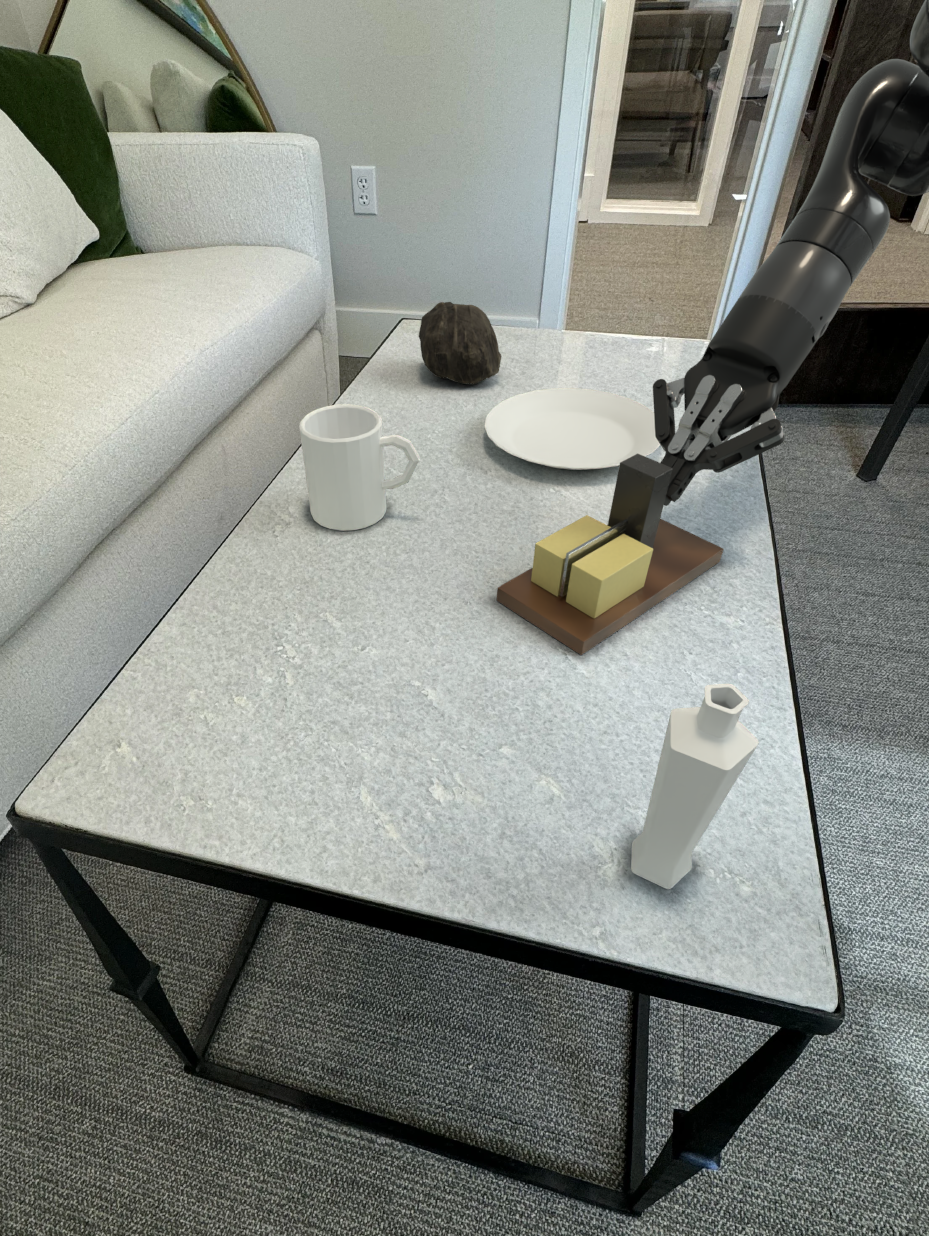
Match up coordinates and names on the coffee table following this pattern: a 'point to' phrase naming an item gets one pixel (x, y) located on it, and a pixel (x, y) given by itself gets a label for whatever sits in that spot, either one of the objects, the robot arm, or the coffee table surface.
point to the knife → (629, 508)
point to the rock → (459, 343)
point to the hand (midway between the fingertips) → (657, 499)
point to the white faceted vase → (692, 782)
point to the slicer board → (668, 571)
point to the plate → (572, 428)
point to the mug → (349, 465)
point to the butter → (591, 567)
